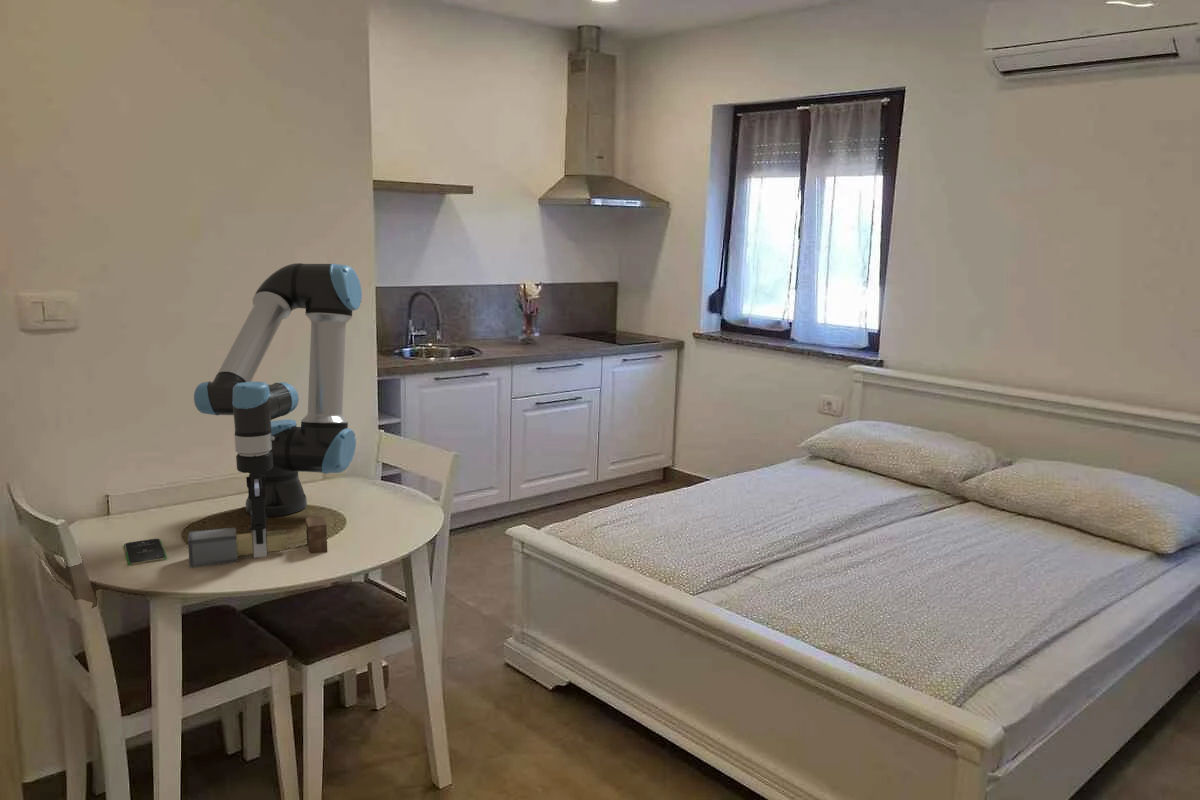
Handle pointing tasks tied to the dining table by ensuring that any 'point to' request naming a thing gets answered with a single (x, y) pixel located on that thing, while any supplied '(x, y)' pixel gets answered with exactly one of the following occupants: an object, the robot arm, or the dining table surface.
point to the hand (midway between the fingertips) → (260, 552)
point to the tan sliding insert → (273, 540)
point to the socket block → (316, 534)
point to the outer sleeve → (212, 547)
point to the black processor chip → (144, 551)
